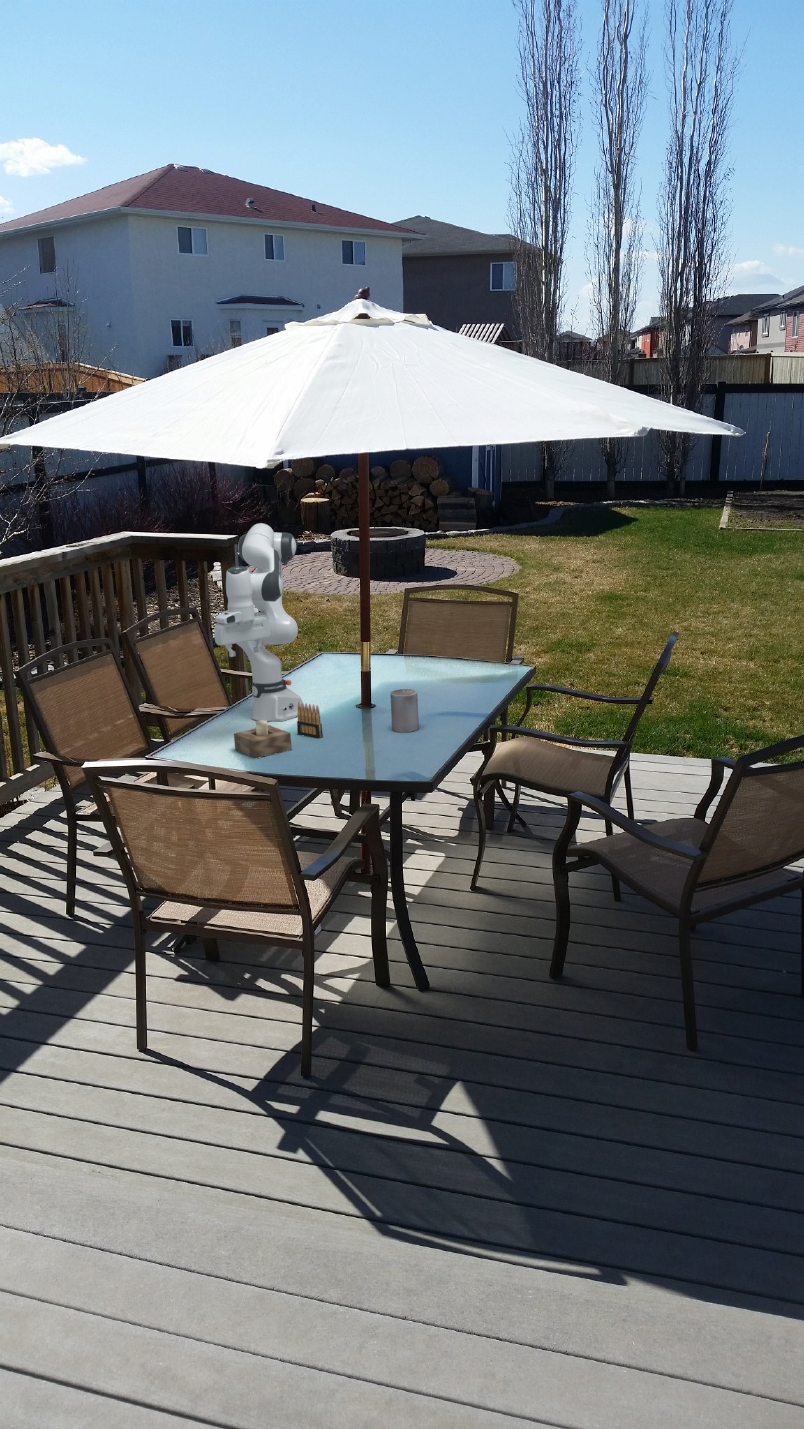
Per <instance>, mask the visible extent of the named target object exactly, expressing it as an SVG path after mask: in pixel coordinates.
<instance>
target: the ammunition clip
mask: <svg viewBox="0 0 804 1429" xmlns="http://www.w3.org/2000/svg"><path fill="white" fill-rule="evenodd" d="M304 707H305V708H304ZM308 711H309V712H308ZM320 714H321V713H320V708H319V705H318V704H316V707H315V704H312V705H311V703H309V704H308V703H307V702H305V704H304V702H303V703H302V705H300V703H299V702H298V713H297V715H298V716H297V721H296V726H297V735H298V736H302V735H304V736H303V737H308V738H313V739H319V740H320V739H322V738H324V734H323V723H321V721H322V720H321V715H320Z"/></svg>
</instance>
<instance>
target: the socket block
mask: <svg viewBox="0 0 804 1429" xmlns="http://www.w3.org/2000/svg"><path fill="white" fill-rule="evenodd" d="M291 736H292V734H291V732H288V731H286V730H283V729H281V728H277V727H274V726H272V725H269V724H268V735H264V736H260V737H258V736H256V727H255V728H251V729H247V730H243V731H239V732H235V733H233V738H234V739H233V740H234V741H233V742H234V748H235V749H234V750H235V751H236V752H238V751H239V753H241V754H243V753H244V755H246V756H248V755H249V757H250V758H253V759H255V758H257V759H260V758H259V757H261V758H263V757H262V756H265V755H269V756H271V755H270V754H273V755H276V754H275V753H277V754H280V753H285V752H289V751H292V750H293V749H292V738H291ZM265 757H266V756H265Z"/></svg>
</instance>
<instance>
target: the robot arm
mask: <svg viewBox="0 0 804 1429" xmlns="http://www.w3.org/2000/svg"><path fill="white" fill-rule="evenodd" d="M296 542H297V541H296V540H295V537H294V535H293V534H292V533H289V532H284V531H282V532H277V531H276V532H274V529H272V527H271V526H270V525H268V524H266V523H261V522H260V523H256V524H254V525H253V526H251V528H250V529H249V530H248V532H247V533H245V534H243V535H242V536H240V537H239V539H238V544H237V550H238V554H239V557H240V558H241V559H242V561H245V562H246V564H248V565H250V566H251V567H252V568H255V569H256V568H257V570H256V572H255V573H250V569H249V568H248V567H246V566H243V565H236V566H232V567H229V568H228V569H227V570H226V574H225V576H226V577H225V590H226V591H225V592H226V597H227V601H228V602H227V610H225V611H223V612H221V613H220V614H218V615H216V616H215V618H214V620H215V623H216V624H215V626H214V642H215V644H216V645H217V646H225V648H226V650H227V651H228V656H229V658H235V657H236V651H235V650H233V645H234V644H236V645H238V646H239V647H240V648H241V649H242V650H243V651H244V652H245V654H246V656H247V657H248V660H249V662H250V668H251V676H252V681H251V688H252V689H251V691H252V697H253V701H252V702H253V704H252V705H253V706H252V713H251V719H252V720H254V721H260V720H265V721H267V722H272V721H273V722H276V721H277V722H283V721H287V720H290V719H294V718H297V717H298V715H297V713H298V702H299V703H300V705H302V703H303V704H304V702H303V700H302V697H301V696H300V695H299V694H297V693H296V692H295V691H292V690H291V689H289V688H288V687H287V686H291V685H292V681H291V680H290V679H284V678H283V674H282V661H281V659H280V658H279V657H278V656H277V655H276V654H274V653H271V652H269V651H268V649H266V647H265V646H266V645H267V646H268V645H270V646H271V645H273V646H274V645H275V646H276V645H277V646H278V645H285V644H289V643H293V642H294V641H295V640H296V638H297V637H298V632H299V627H298V623H297V621H296V620H295V619H294V617H292V616H291V615H289V614H288V613H287V612H286V610H285V609H284V606H283V591H284V590H283V587H284V572H283V571H284V570H283V566H287V565H288V563H289V562H290V561H291V560H293V559H294V556H295V554H296V551H297V543H296ZM282 565H283V566H282ZM255 609H257V610H258V612H255ZM259 611H260V612H259ZM304 708H305V706H304ZM308 712H309V711H308ZM296 716H297V717H296Z"/></svg>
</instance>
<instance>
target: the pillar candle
mask: <svg viewBox="0 0 804 1429" xmlns="http://www.w3.org/2000/svg"><path fill="white" fill-rule="evenodd" d="M418 702H419V701H418V691H417V690H415V689H412V688H402V689H395V690H392V691H390V711H391V712H390V713H391V729H392V731H393V732H395V733H400V734H401V733H402V734H404V733H405V734H406V733H412V732H416V731H418V730H419V729H420V725H419V724H420V722H419V720H420V718H419V703H418Z"/></svg>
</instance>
